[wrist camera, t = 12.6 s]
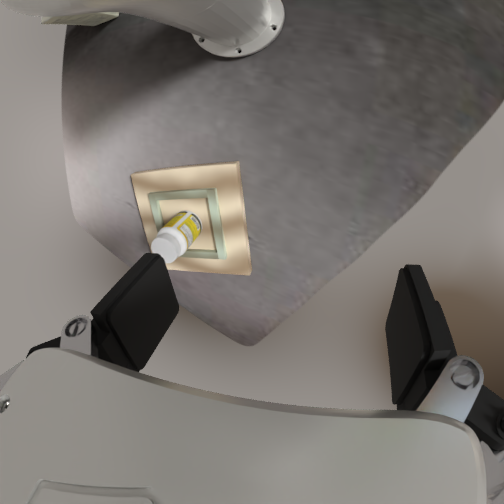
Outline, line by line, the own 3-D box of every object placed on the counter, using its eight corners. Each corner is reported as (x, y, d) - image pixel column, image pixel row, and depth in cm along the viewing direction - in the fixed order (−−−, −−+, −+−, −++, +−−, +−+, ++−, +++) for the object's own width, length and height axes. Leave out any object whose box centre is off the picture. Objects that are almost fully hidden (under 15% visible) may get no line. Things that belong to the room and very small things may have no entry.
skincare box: (122, -4, 25) (69, -16, 15) (119, 17, 27) (64, 9, 17) (95, 7, 26) (43, 2, 16) (92, 27, 28) (39, 25, 18)
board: (135, 172, 41) (127, 176, 40) (239, 161, 37) (233, 165, 35) (160, 263, 50) (154, 270, 49) (252, 270, 46) (248, 278, 44)
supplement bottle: (173, 229, 44) (146, 257, 37) (178, 205, 41) (149, 229, 34) (199, 241, 44) (175, 271, 37) (206, 216, 41) (181, 244, 34)
